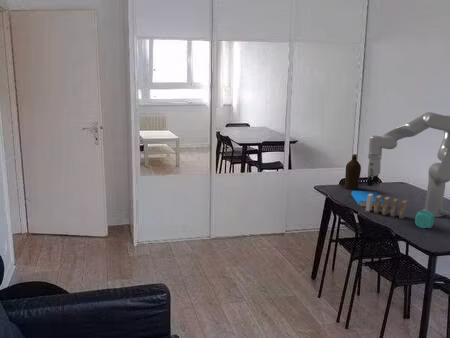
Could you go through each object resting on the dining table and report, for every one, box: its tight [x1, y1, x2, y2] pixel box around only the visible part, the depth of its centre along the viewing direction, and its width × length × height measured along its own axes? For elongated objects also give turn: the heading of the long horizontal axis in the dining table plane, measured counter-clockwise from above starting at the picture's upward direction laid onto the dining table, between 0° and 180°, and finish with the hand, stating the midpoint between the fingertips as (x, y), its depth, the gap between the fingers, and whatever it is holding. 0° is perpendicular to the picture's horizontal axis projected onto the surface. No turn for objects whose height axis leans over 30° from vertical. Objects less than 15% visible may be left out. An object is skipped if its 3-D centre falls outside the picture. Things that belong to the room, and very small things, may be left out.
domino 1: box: [373, 194, 382, 214], centre depth 284 cm, size 2×5×10 cm, turn 145°
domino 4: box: [398, 199, 408, 220], centre depth 276 cm, size 2×5×10 cm, turn 145°
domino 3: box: [390, 197, 399, 217], centre depth 278 cm, size 2×5×10 cm, turn 145°
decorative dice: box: [414, 210, 435, 229], centre depth 262 cm, size 8×8×8 cm
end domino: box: [365, 194, 373, 213], centre depth 286 cm, size 2×5×10 cm, turn 146°
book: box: [350, 190, 384, 209], centre depth 307 cm, size 17×4×25 cm
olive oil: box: [344, 153, 362, 191], centre depth 335 cm, size 11×11×25 cm
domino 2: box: [381, 196, 391, 216], centre depth 281 cm, size 2×5×10 cm, turn 145°
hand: (372, 184), depth 284 cm, fingers open, 9 cm apart
